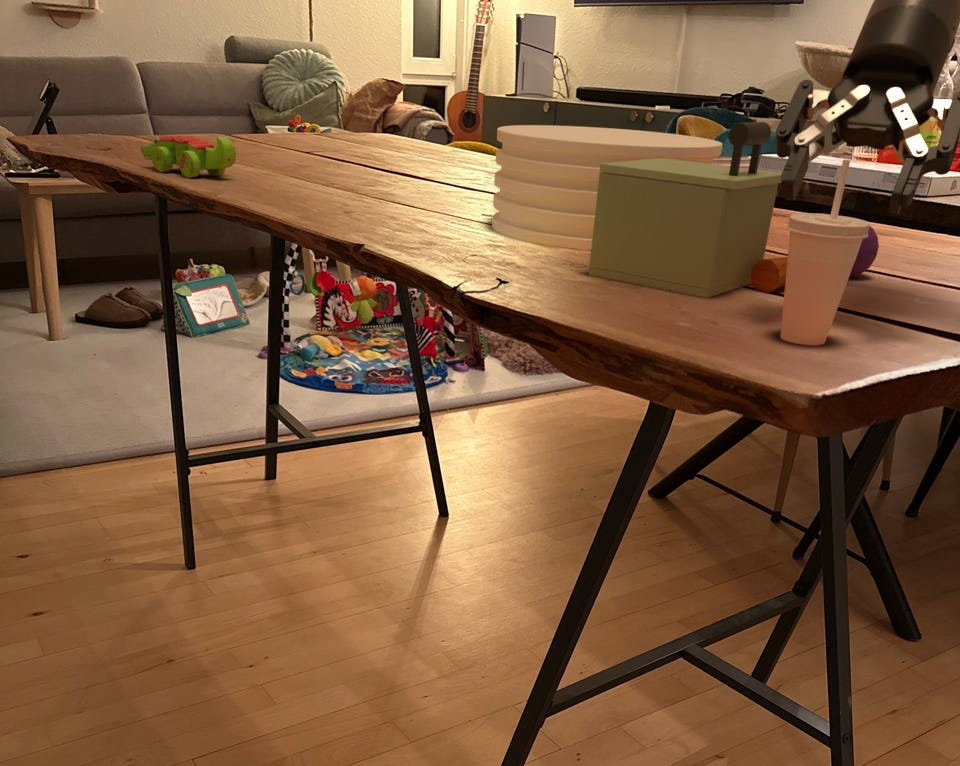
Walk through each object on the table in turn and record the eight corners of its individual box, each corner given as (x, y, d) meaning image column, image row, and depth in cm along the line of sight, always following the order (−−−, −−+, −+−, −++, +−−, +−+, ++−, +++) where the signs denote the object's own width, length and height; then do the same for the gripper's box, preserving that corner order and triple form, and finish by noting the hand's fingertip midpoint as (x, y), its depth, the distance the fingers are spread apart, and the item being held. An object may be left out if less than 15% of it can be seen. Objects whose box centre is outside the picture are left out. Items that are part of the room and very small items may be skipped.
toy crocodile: (135, 167, 159) (130, 126, 156) (170, 166, 163) (166, 125, 160) (209, 182, 148) (205, 138, 145) (244, 180, 153) (241, 137, 150)
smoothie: (782, 350, 79) (823, 162, 72) (752, 330, 85) (787, 153, 77) (854, 351, 80) (902, 165, 73) (820, 331, 86) (861, 156, 78)
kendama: (739, 246, 99) (839, 217, 110) (739, 306, 102) (837, 272, 113) (791, 244, 95) (890, 214, 106) (790, 307, 98) (886, 272, 109)
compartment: (759, 282, 104) (778, 181, 99) (707, 299, 95) (725, 189, 90) (646, 261, 111) (659, 166, 106) (588, 275, 102) (599, 172, 97)
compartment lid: (787, 182, 98) (799, 123, 96) (734, 190, 89) (746, 125, 87) (659, 166, 106) (667, 111, 103) (599, 172, 97) (605, 112, 94)
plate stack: (703, 226, 137) (718, 135, 131) (709, 261, 113) (727, 152, 107) (508, 210, 140) (514, 121, 134) (474, 240, 116) (479, 134, 110)
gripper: (820, -2, 81) (753, 156, 79) (1003, 4, 75) (937, 176, 73) (820, 72, 88) (758, 220, 85) (988, 83, 82) (927, 242, 80)
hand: (840, 199), depth 79 cm, fingers open, 8 cm apart
